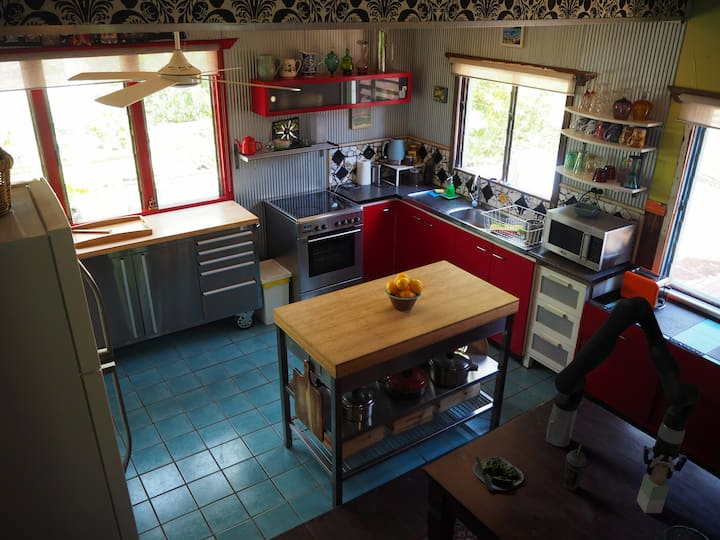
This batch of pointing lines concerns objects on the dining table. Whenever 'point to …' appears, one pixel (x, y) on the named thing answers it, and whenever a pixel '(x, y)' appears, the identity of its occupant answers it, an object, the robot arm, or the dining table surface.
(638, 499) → the base block
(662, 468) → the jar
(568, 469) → the beverage cup
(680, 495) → the dining table surface
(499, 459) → the salad plate
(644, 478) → the mid block
